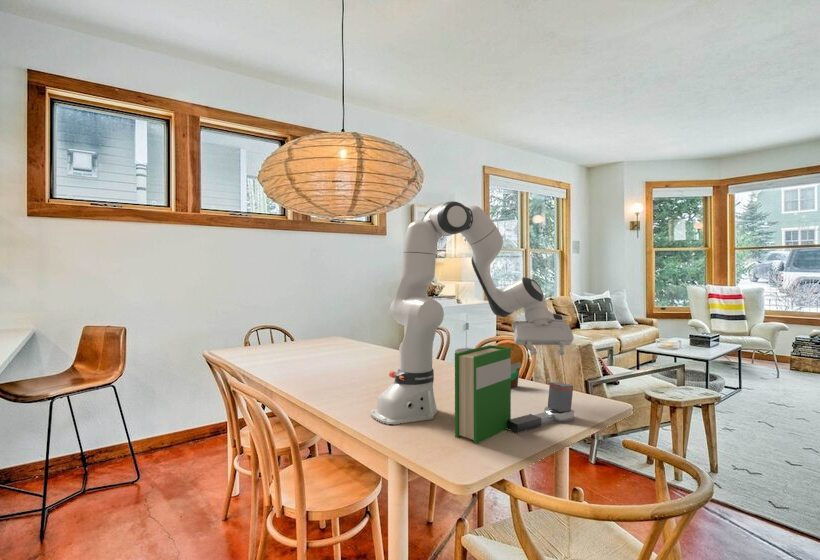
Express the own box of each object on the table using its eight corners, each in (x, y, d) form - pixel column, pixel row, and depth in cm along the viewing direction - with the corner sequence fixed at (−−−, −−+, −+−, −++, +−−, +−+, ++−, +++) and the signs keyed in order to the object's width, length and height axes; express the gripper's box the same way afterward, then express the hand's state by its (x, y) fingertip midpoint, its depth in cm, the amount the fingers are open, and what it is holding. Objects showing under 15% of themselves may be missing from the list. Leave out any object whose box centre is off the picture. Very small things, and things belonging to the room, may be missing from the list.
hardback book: (476, 444, 119) (476, 357, 119) (455, 437, 125) (454, 353, 124) (510, 427, 132) (510, 348, 131) (489, 421, 137) (489, 345, 137)
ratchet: (523, 435, 125) (523, 415, 125) (501, 426, 133) (501, 406, 133) (580, 419, 138) (580, 400, 138) (557, 411, 146) (557, 393, 146)
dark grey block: (559, 411, 136) (562, 386, 136) (547, 407, 140) (549, 382, 141) (570, 411, 139) (573, 385, 139) (558, 406, 143) (560, 382, 143)
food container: (488, 387, 175) (488, 362, 175) (490, 383, 181) (490, 359, 181) (519, 390, 171) (519, 364, 171) (521, 386, 177) (521, 361, 176)
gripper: (512, 315, 155) (520, 348, 146) (568, 316, 156) (580, 349, 147) (508, 326, 160) (515, 359, 150) (563, 326, 161) (574, 359, 151)
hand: (548, 354), depth 149 cm, fingers open, 8 cm apart
